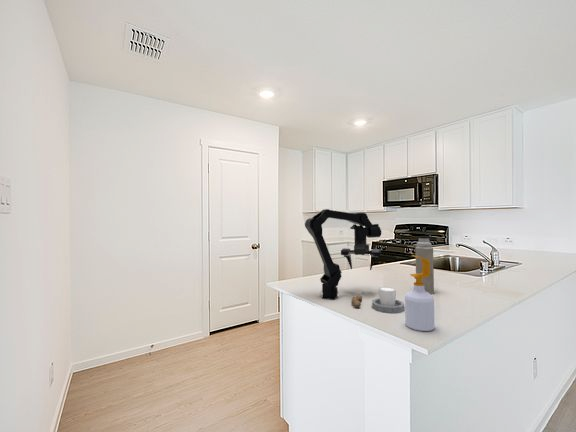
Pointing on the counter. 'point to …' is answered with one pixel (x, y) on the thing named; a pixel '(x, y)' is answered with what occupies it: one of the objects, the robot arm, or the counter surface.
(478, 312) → the counter surface
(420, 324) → the soap bottle
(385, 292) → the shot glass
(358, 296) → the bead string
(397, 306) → the tray
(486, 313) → the counter surface
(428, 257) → the thermos bottle
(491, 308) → the counter surface
